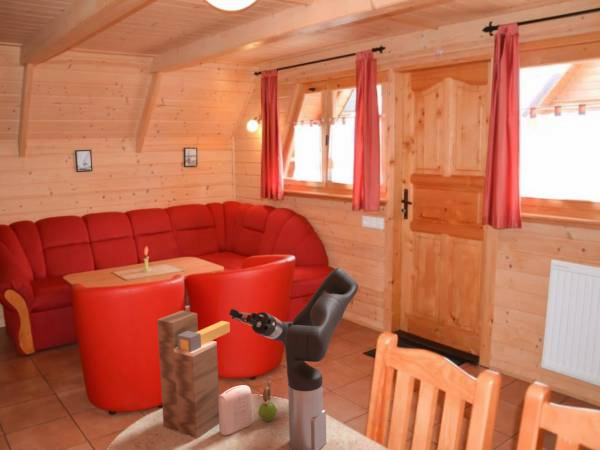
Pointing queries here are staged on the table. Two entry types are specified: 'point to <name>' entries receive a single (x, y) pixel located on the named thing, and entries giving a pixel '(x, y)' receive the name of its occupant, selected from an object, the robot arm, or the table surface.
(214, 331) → the bar
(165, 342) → the step stand
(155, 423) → the table surface
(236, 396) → the pink rounded block
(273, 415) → the green bud vase
